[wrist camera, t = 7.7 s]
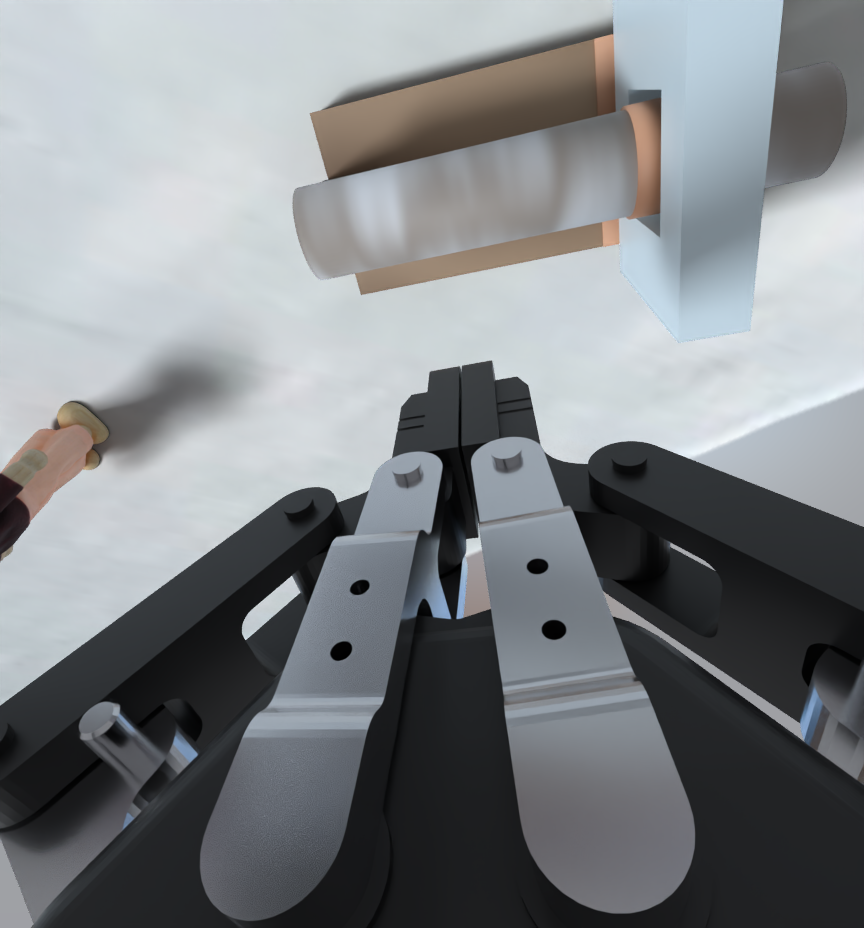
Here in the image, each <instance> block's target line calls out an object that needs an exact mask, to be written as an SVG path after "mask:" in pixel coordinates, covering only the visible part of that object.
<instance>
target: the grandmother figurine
mask: <svg viewBox="0 0 864 928" xmlns="http://www.w3.org/2000/svg"><path fill="white" fill-rule="evenodd" d="M57 419H58V423H59V425H60V426H61V429H59V430H52V429H41V430H39V431H37V432H36V433H34V435H33V436H32V437H31V438H30V439H29V440H28V441H27V442H26V443H25V444H24V445H23V446H22V448H21V449H20V450H19V451H18V452H17V453H16V454H15V455H14V456H13V457H12V459H11V460H10V461H9V463H8V464H7V465H6V467H5V468H4V469H3V470H2V472H1V473H0V561H2V560H3V558H4V557H6V556H8V555H9V554H10V553H11V552H12V550H13V544H14V543H15V542H16V541H17V540H18V538H19V537H20V535H21V534H22V533H23V532H24V531H25V530H26V528H27V527H28V526H29V524H30V521H31V520H32V519H33V518H34V517H35V515H36V514H37V513H38V512H39V511H40V510H41V509H42V508H43V507H44V506H45V504H46V503H47V502H48V501H49V500H50V498H51V496H52V495H53V493H54V492H56V491H57V490H58V489H59V488H61V487H62V486H63V485H64V484H66V483H67V482H68V481H70V480H71V479H72V478H74V477H75V476H76V475H77V474H78V473H80V471H81V470H82V469H84V470H92V469H95V468H96V467H97V466H98V464H99V460H100V458H99V455H98V454H97V453H96V452H95V451H94V450H93V449H91V448H92V446H93V444H100V443H102V442H104V441H105V440H106V439H107V438H108V436H109V432H108V429H107V427H106V426H105V425H104V424H103V423H102V422H101V421H100V420H99V419H98V418H97V417H95V416H94V415H93V414H92V413H91V412H90V411H89V410H88V409H87V408H85V407H84V406H82V405H80V404H78V403H74V402H69V403H66V404H64V405H63V406H62V407H61V408H60V410H59V411H58V414H57Z"/></svg>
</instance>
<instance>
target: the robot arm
mask: <svg viewBox="0 0 864 928" xmlns="http://www.w3.org/2000/svg"><path fill="white" fill-rule="evenodd" d="M399 420H400V421H399V423H398V431H397V434H396V440H395V445H394V451H393V456H392V459H390V460H388V461H386V462H385V463H384V464H382V465H381V466H380V467H379V468H378V470H377V471H376V473H375V475H374V477H373V480H372V483H371V486H370V489H369V491H367V492H365V493H363V494H360V495H358V496H355V497H353V498H350V499H347V500H344V501H341V502H339V503H337V500H336V498H335V496H334V494H333V493H332V492H331V491H330V490H328V489H325V488H320V487H312V488H305V489H301V490H298V491H295V492H293V493H291V494H289V495H287V496H285V497H283V498H282V499H280V500H279V501H278V502H276V503H275V504H274V505H272V506H271V507H269V508H268V509H267V510H265V511H264V512H263V513H261V514H260V515H259V516H257V517H256V518H255V519H253V520H252V521H250V522H249V523H248V524H246V525H245V526H244V527H242V528H241V529H240V530H238V531H237V532H235V533H234V534H233V535H231V536H230V537H229V538H227V539H226V540H225V541H223V542H222V543H221V544H219V545H218V546H216V547H215V548H214V549H212V550H211V551H210V552H208V553H207V554H206V555H204V556H203V557H202V558H200V559H199V560H197V561H196V562H195V563H193V564H192V565H191V566H189V567H188V568H187V569H185V570H184V571H183V572H181V573H180V574H178V575H177V576H176V577H174V578H173V579H172V580H170V581H169V582H168V583H166V584H165V585H163V586H162V587H161V588H159V589H158V590H157V591H155V592H154V593H153V594H151V595H150V596H149V597H147V598H146V599H144V600H143V601H142V602H140V603H139V604H138V605H136V606H135V607H134V608H132V609H131V610H130V611H128V612H127V613H125V614H124V615H123V616H121V617H120V618H119V619H117V620H116V621H115V622H113V623H112V624H111V625H109V626H108V627H106V628H105V629H104V630H102V631H101V632H100V633H98V634H97V635H96V636H94V637H93V638H91V639H90V640H89V641H87V642H86V643H85V644H83V645H82V646H81V647H79V648H78V649H77V650H75V651H74V652H72V653H71V654H70V655H68V656H67V657H66V658H64V659H63V660H62V661H60V662H59V663H58V664H56V665H55V666H53V667H52V668H51V669H49V670H48V671H47V672H45V673H44V674H43V675H41V676H40V677H39V678H37V679H36V680H34V681H33V682H32V683H30V684H29V685H28V686H26V687H25V688H24V689H22V690H21V691H19V692H18V693H17V694H15V695H14V696H13V697H11V698H10V699H9V700H7V701H6V702H5V703H3V704H2V705H0V842H1V843H2V844H3V846H4V849H5V851H6V854H7V856H8V859H9V861H10V864H11V867H12V869H13V872H14V874H15V877H16V880H17V882H18V884H19V887H20V890H21V892H22V895H23V898H24V900H25V903H26V905H27V908H28V911H29V913H30V916H31V918H32V921H33V923H34V925H33V926H32V927H31V928H864V527H862V526H859V525H857V524H854V523H852V522H849V521H847V520H844V519H842V518H839V517H837V516H834V515H831V514H829V513H826V512H824V511H821V510H819V509H816V508H814V507H811V506H808V505H806V504H803V503H801V502H798V501H796V500H793V499H791V498H788V497H785V496H783V495H780V494H778V493H775V492H773V491H770V490H768V489H765V488H762V487H760V486H757V485H755V484H752V483H750V482H747V481H745V480H742V479H739V478H737V477H734V476H732V475H729V474H727V473H724V472H722V471H719V470H716V469H714V468H711V467H709V466H706V465H704V464H701V463H699V462H696V461H693V460H691V459H688V458H686V457H683V456H681V455H678V454H676V453H673V452H670V451H668V450H665V449H663V448H660V447H658V446H655V445H652V444H649V443H644V442H636V441H627V442H619V443H614V444H610V445H607V446H605V447H603V448H601V449H599V450H597V451H596V452H595V453H594V454H593V455H592V456H591V457H590V459H589V462H588V464H575V463H568V462H563V461H560V460H557V459H554V458H552V457H551V456H549V455H548V454H546V453H545V452H544V450H543V448H542V447H541V445H540V440H539V435H538V430H537V426H536V421H535V416H534V411H533V406H532V402H531V397H530V392H529V387H528V385H527V384H526V383H524V382H523V381H522V380H521V379H519V378H518V377H512V378H507V379H501V380H495V374H494V368H493V363H492V361H486V362H481V363H475V364H469V365H464V366H462V371H461V368H460V366H459V367H453V368H447V369H442V370H436V371H431V372H430V374H429V383H428V392H426V393H420V394H414V395H411V397H410V398H409V399H408V400H407V401H406V402H405V404H404V405H403V406H402V407H401V413H400V418H399ZM478 523H479V532H480V538H481V545H482V552H483V559H484V565H485V572H486V579H487V585H488V592H489V598H490V606H491V609H489V610H486V611H483V612H480V613H477V614H474V615H471V616H468V617H465V618H463V615H464V603H465V592H466V582H467V571H468V566H467V561H466V557H465V553H466V539H470V538H478ZM670 542H671V543H673V544H674V545H677V546H678V547H680V548H682V549H684V550H686V551H688V552H690V553H692V554H693V555H695V556H697V557H699V558H701V559H703V560H704V561H706V562H707V563H708V564H710V565H711V566H712V567H713V568H714V569H715V571H714V570H712V569H710V568H709V567H707V566H705V565H703V564H701V563H699V562H697V561H695V560H694V559H692V558H690V557H688V556H686V555H684V554H682V553H681V552H679V551H677V550H675V549H673V548H671V547H670ZM291 576H293V578H294V580H295V582H296V584H297V586H298V588H299V590H300V592H301V593H300V594H298V595H297V596H296V597H295V598H294V599H293V600H292V601H290V602H289V603H288V604H287V605H286V606H285V607H284V608H282V609H281V610H280V611H279V612H278V613H277V614H276V615H274V616H273V617H272V618H271V619H270V620H269V621H268V622H266V623H265V624H264V625H263V626H262V627H261V628H260V629H258V630H257V631H256V632H255V633H254V634H253V635H252V636H250V637H249V638H248V639H247V640H245V639H244V637H243V635H242V624H243V621H244V619H245V617H246V616H247V614H248V613H249V612H250V611H251V610H252V609H253V608H254V607H255V606H256V605H257V604H259V603H260V602H261V601H262V600H263V599H265V598H266V597H267V596H268V595H269V594H271V593H272V592H273V591H274V590H275V589H276V588H278V587H279V586H280V585H281V584H282V583H284V582H285V581H286V580H287V579H288V578H289V577H291ZM603 591H604V592H605V593H607V594H608V595H609V596H611V597H612V598H614V599H615V600H617V601H618V602H620V603H621V604H623V605H624V606H626V607H627V608H629V609H630V610H632V611H633V612H635V613H636V614H638V615H639V616H641V617H642V618H644V619H645V620H647V621H648V622H650V623H651V624H653V625H654V626H656V627H657V628H659V629H660V630H662V631H663V632H665V633H666V634H668V635H669V636H670V637H672V638H673V639H675V640H677V641H678V642H679V643H681V644H682V645H684V646H685V647H687V648H688V649H690V650H691V651H693V652H694V653H696V654H697V655H699V656H701V657H702V658H703V659H705V660H707V661H708V662H710V663H711V664H712V665H714V666H715V667H717V668H718V669H720V670H721V671H723V672H724V673H726V674H727V675H729V676H730V677H732V678H733V679H735V680H736V681H738V682H739V683H741V684H742V685H744V686H745V687H747V688H748V689H750V690H751V691H753V692H754V693H756V694H757V695H759V696H760V697H762V698H763V699H765V700H766V701H768V702H769V703H771V704H772V705H774V706H775V707H777V708H778V709H780V710H781V711H783V712H784V713H785V714H787V715H788V716H790V717H791V718H793V719H795V720H796V721H797V722H799V723H800V726H801V732H802V736H803V738H804V741H805V742H804V741H802V740H801V739H800V738H798V737H797V736H796V735H794V734H793V733H792V732H790V731H789V730H787V729H786V728H785V727H783V726H782V725H781V724H779V723H778V722H776V721H775V720H774V719H772V718H771V717H769V716H768V715H767V714H765V713H764V712H763V711H761V710H760V709H758V708H757V707H756V706H754V705H753V704H752V703H750V702H748V701H747V700H746V699H745V698H743V697H742V696H740V695H739V694H738V693H736V692H735V691H734V690H732V689H731V688H730V687H728V686H727V685H725V684H724V683H723V682H721V681H720V680H719V679H717V678H716V677H714V676H713V675H712V674H710V673H709V672H708V671H706V670H705V669H703V668H702V667H701V666H699V665H698V664H696V663H695V662H694V661H692V660H691V659H689V658H688V657H687V656H685V655H684V654H683V653H681V652H680V651H679V650H677V649H676V648H674V647H673V646H672V645H670V644H669V643H668V642H666V641H665V640H663V639H662V638H660V637H659V636H657V635H655V634H654V633H652V632H650V631H648V630H646V629H645V628H642V627H640V626H638V625H636V624H633V623H631V622H629V621H625V620H622V619H619V618H616V617H613V616H612V615H611V612H610V609H609V606H608V604H607V601H606V598H605V596H604V593H603Z"/></svg>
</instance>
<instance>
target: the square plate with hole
mask: <svg viewBox="0 0 864 928" xmlns="http://www.w3.org/2000/svg"><path fill="white" fill-rule="evenodd" d="M783 1H784V0H613V33H614V68H615V103H616V112H617V111H620V110H621V108H622V107H623V106H626V105H631V104H635V103H639V102H643V101H647V100H651V99H656V98H661V203H660V213H659V214H655V215H650V216H645V217H640V218H635V219H630V220H629V219H627V218H626V217H624V218H619V242H620V272H621V273H622V274H623V276H624V277H625V278H626V279H627V281H628V282H629V283H630V284H631V286H632V287H633V288H634V289H635V290H636V292H637V293H638V294H639V295H640V297H641V298H642V299H643V300H644V302H645V303H646V304H647V305H648V306H649V308H650V309H651V310H652V311H653V313H654V314H655V315H656V316H657V318H658V319H659V320H660V321H661V322H662V324H663V325H664V326H665V327H666V329H667V330H668V331H669V332H670V334H671V335H672V336H673V337H674V339H675V340H676V341H677V342H678V343H681V342H687V341H693V340H699V339H705V338H711V337H717V336H723V335H729V334H734V333H740V332H746V331H750V327H751V317H752V307H753V297H754V287H755V278H756V268H757V258H758V248H759V238H760V228H761V218H762V208H763V199H764V189H765V179H766V169H767V159H768V149H769V139H770V129H771V119H772V110H773V100H774V90H775V80H776V70H777V60H778V50H779V40H780V31H781V21H782V11H783Z"/></svg>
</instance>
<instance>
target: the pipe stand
mask: <svg viewBox="0 0 864 928" xmlns="http://www.w3.org/2000/svg"><path fill="white" fill-rule="evenodd" d="M846 113H847V97H846V88H845V84H844V80H843V77H842V74H841V73H840V71H839V69H838V68H837V67H836V66H835V65H834V64H833V63H830V62H823V63H818V64H814V65H810V66H806V67H802V68H797V69H793V70H789V71H785V72H781V73H777V74H776V80H775V90H774V100H773V110H772V119H771V129H770V139H769V149H768V159H767V169H766V179H765V188H768V187H773V186H778V185H782V184H787V183H792V182H797V181H802V180H807V179H811V178H816V177H818V176H820V175H822V174H823V173H824V172H825V171H826V170H827V169H828V168H829V167H830V165H831V164H832V162H833V160H834V159H835V157H836V155H837V152H838V150H839V147H840V144H841V141H842V138H843V134H844V129H845V123H846ZM310 116H311V120H312V123H313V127H314V130H315V134H316V137H317V141H318V144H319V148H320V151H321V155H322V158H323V162H324V165H325V169H326V173H327V176H328V180H325V181H323V182H320V183H316V184H312V185H308V186H304V187H299V188H296V189H295V191H294V194H293V215H294V222H295V227H296V231H297V235H298V239H299V242H300V246H301V248H302V251H303V254H304V256H305V259H306V261H307V263H308V265H309V267H310V269H311V270H312V272H313V273H314V275H315V276H316V277H317V278H318V279H320V280H326V279H331V278H335V277H340V276H345V275H350V274H355V275H356V278H357V282H358V286H359V289H360V293H361V295H363V294H368V293H373V292H378V291H383V290H388V289H393V288H398V287H403V286H408V285H413V284H418V283H423V282H428V281H433V280H437V279H442V278H447V277H452V276H457V275H462V274H467V273H472V272H477V271H482V270H487V269H492V268H497V267H502V266H507V265H512V264H517V263H522V262H527V261H532V260H537V259H542V258H547V257H552V256H557V255H562V254H567V253H572V252H577V251H582V250H587V249H592V248H597V247H602V246H603V247H606V246H611V245H616V244H620V242H619V218H624V217H626V218H627V219H629V220H630V219H635V218H640V217H645V216H650V215H655V214H659V213H660V203H661V98H656V99H651V100H647V101H643V102H639V103H635V104H631V105H626V106H623V107H622V108H621V110H620V111H617V112H616V103H615V68H614V34H611V35H607V36H603V37H599V38H596V39H592V40H588V41H584V42H581V43H577V44H573V45H569V46H565V47H561V48H558V49H554V50H550V51H546V52H542V53H539V54H535V55H531V56H527V57H523V58H519V59H516V60H512V61H508V62H504V63H500V64H496V65H493V66H489V67H485V68H481V69H477V70H474V71H470V72H466V73H462V74H458V75H454V76H451V77H447V78H443V79H439V80H435V81H431V82H428V83H424V84H420V85H416V86H412V87H409V88H405V89H401V90H397V91H393V92H389V93H386V94H382V95H378V96H374V97H370V98H366V99H363V100H359V101H355V102H351V103H347V104H343V105H340V106H336V107H332V108H328V109H324V110H321V111H317V112H313V113H310Z"/></svg>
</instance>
